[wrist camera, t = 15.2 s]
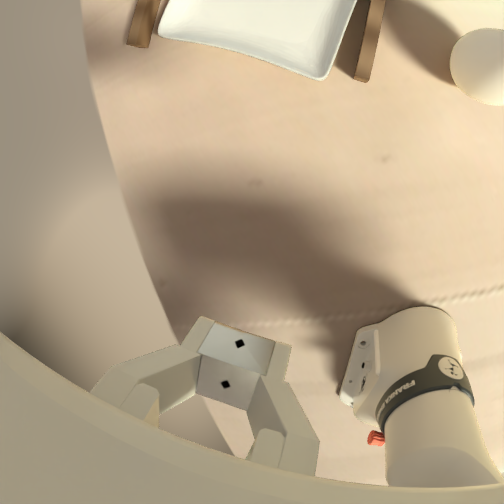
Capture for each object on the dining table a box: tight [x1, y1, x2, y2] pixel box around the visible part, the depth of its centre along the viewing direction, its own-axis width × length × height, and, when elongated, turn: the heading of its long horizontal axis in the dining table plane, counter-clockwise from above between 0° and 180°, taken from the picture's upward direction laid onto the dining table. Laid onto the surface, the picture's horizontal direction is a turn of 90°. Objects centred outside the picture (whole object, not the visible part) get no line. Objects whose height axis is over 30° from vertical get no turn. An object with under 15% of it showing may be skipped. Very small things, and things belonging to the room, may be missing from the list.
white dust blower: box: [450, 28, 504, 105], centre depth 18 cm, size 8×8×18 cm
